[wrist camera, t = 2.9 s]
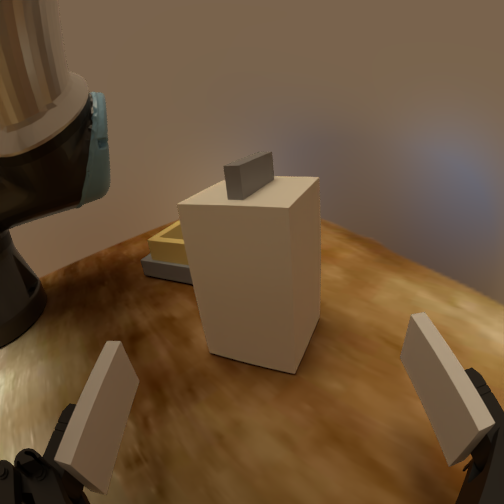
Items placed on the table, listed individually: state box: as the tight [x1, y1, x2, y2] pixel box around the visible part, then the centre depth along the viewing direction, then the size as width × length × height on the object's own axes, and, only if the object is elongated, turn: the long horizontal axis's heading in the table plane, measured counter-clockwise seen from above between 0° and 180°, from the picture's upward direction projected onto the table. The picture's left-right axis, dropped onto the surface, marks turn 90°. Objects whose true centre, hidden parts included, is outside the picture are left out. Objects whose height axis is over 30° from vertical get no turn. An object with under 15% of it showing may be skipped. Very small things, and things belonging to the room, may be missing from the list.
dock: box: [141, 220, 193, 284], centre depth 38 cm, size 16×14×4 cm
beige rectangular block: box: [177, 152, 321, 374], centre depth 22 cm, size 7×7×14 cm
